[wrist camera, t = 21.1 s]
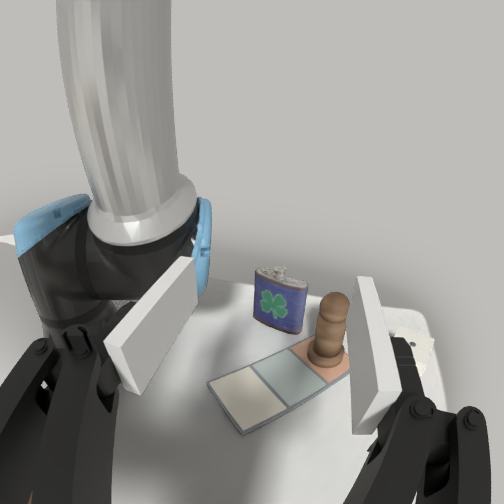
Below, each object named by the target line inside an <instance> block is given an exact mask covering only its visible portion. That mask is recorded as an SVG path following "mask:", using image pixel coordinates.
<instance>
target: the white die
mask: <svg viewBox="0 0 504 504" xmlns="http://www.w3.org/2000/svg"><path fill="white" fill-rule="evenodd" d="M394 337H404V339H405V340H406V341H407V342H408V344H409V345H410V346H411V349H412V352H413V358H414V359H415V362H416V366H417V369H418V373H419V376H420V377H421V375H422V374H423V372H424V370H425V368H426V366H427V364H428V361H429V358H430V354H431V351H432V348H433V344H434V340H435V339H433V338H430V337H428V336H425V335H422V334H420V333H417V332H415V331H412V330H410V329H407V328H404V327H402V326H399V328H398V330H397V332H396V334H395V336H394Z"/></svg>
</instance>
